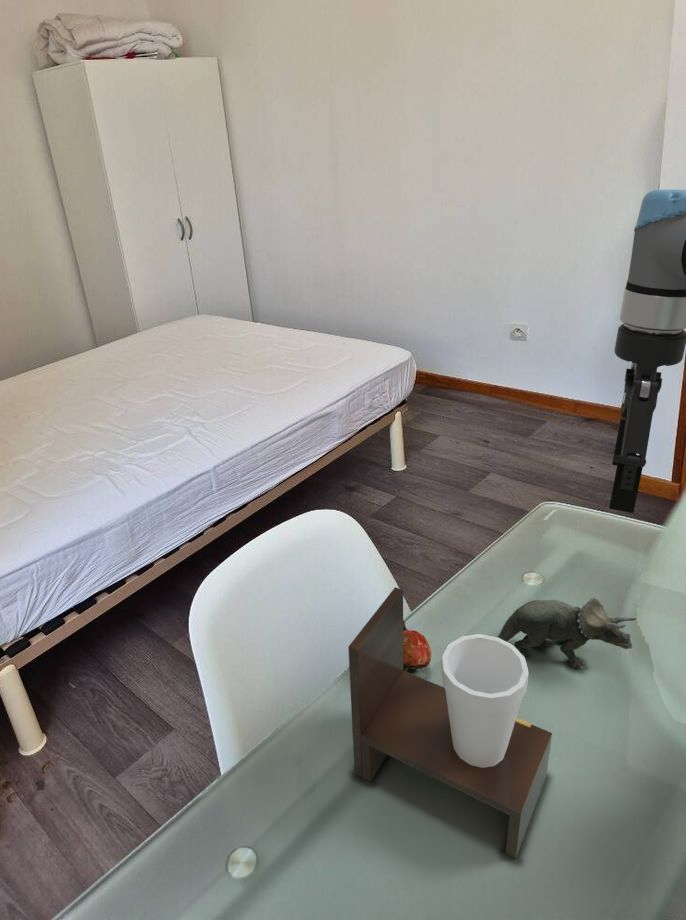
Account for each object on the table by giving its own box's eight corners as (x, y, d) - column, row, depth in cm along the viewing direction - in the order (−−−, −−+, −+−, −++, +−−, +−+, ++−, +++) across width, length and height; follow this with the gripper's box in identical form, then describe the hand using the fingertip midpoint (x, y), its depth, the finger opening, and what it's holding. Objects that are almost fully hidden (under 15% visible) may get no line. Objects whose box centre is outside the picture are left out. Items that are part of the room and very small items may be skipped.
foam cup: (425, 726, 85) (427, 648, 80) (489, 702, 88) (495, 625, 82) (467, 791, 77) (472, 709, 72) (536, 762, 80) (546, 681, 74)
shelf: (546, 776, 87) (563, 646, 77) (515, 859, 78) (531, 723, 69) (396, 708, 98) (395, 586, 88) (354, 773, 89) (348, 646, 79)
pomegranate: (434, 695, 102) (435, 626, 107) (427, 689, 96) (428, 617, 101) (385, 691, 105) (387, 624, 109) (375, 686, 98) (378, 615, 103)
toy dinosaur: (471, 659, 105) (474, 602, 100) (476, 621, 112) (479, 567, 107) (626, 687, 99) (638, 627, 94) (621, 645, 106) (632, 587, 101)
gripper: (697, 358, 69) (656, 538, 77) (682, 308, 91) (651, 454, 99) (616, 349, 72) (585, 524, 80) (620, 303, 94) (595, 445, 101)
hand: (621, 486), depth 89 cm, fingers open, 13 cm apart
